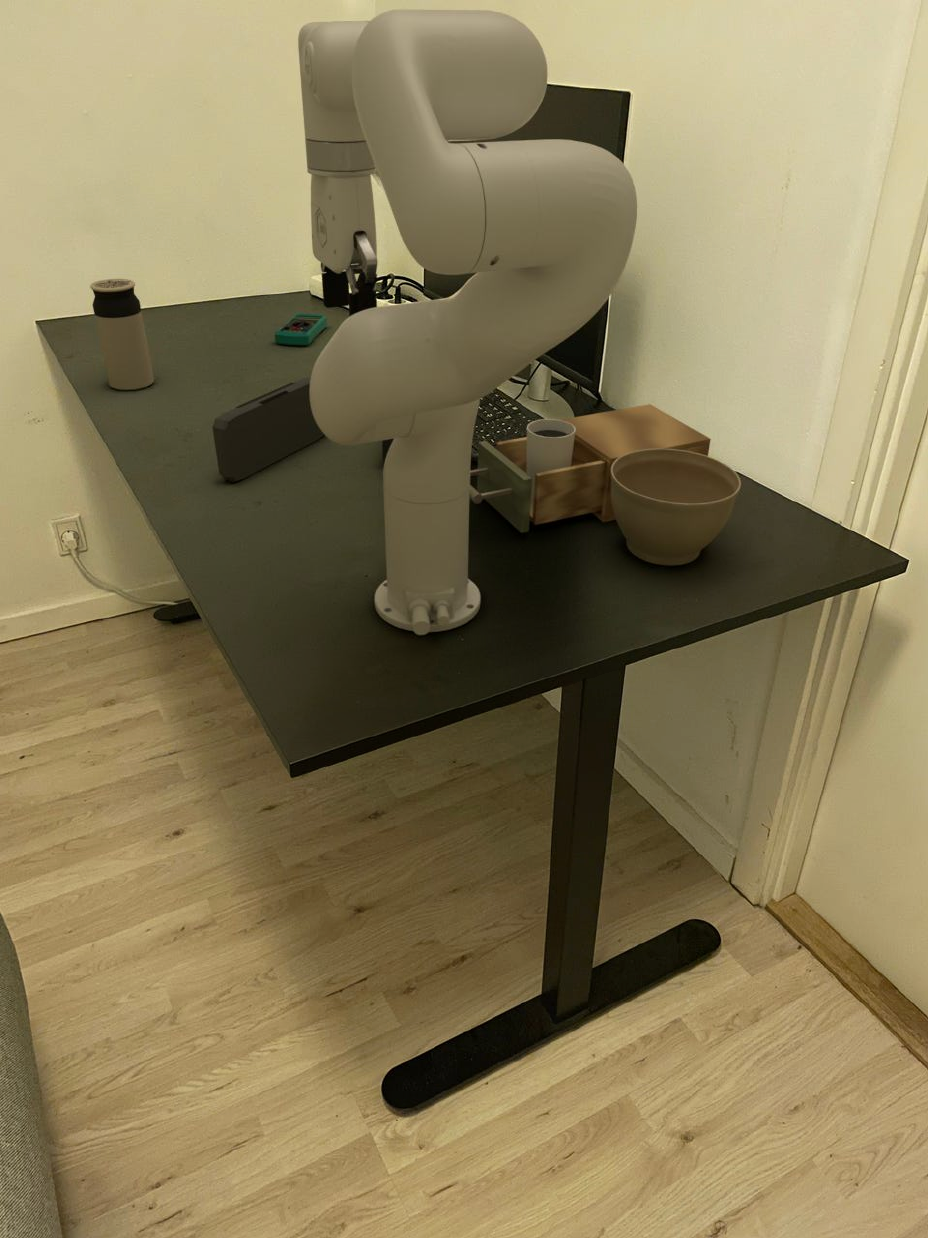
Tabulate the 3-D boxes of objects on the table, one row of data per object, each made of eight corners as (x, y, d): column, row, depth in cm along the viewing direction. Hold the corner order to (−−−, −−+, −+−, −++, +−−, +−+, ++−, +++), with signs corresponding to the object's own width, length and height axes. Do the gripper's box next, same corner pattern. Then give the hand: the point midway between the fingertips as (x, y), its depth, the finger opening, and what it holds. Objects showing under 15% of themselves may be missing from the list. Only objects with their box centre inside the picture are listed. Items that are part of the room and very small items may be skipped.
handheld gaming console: (315, 431, 152) (310, 372, 146) (328, 434, 151) (324, 375, 145) (218, 481, 135) (208, 417, 130) (232, 485, 134) (222, 421, 129)
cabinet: (603, 522, 126) (610, 458, 121) (550, 480, 137) (555, 420, 132) (700, 500, 133) (711, 438, 127) (642, 462, 143) (650, 403, 138)
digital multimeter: (274, 345, 189) (272, 331, 188) (296, 325, 202) (294, 311, 200) (308, 348, 188) (307, 333, 187) (328, 327, 201) (327, 313, 199)
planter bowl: (634, 589, 112) (645, 509, 106) (583, 528, 125) (591, 454, 119) (749, 571, 116) (766, 494, 110) (689, 514, 129) (701, 442, 123)
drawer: (481, 541, 120) (483, 487, 115) (439, 499, 130) (439, 448, 125) (618, 511, 127) (624, 459, 123) (568, 473, 137) (573, 424, 133)
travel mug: (156, 388, 168) (138, 287, 158) (111, 393, 165) (89, 291, 155) (152, 374, 174) (134, 276, 164) (108, 379, 171) (87, 279, 161)
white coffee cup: (563, 508, 125) (569, 440, 120) (517, 501, 127) (520, 433, 121) (574, 488, 131) (580, 422, 125) (530, 481, 132) (534, 416, 127)
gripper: (285, 148, 104) (298, 301, 114) (333, 170, 91) (343, 341, 101) (348, 145, 107) (355, 295, 117) (402, 166, 94) (406, 333, 104)
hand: (349, 316), depth 109 cm, fingers open, 9 cm apart
